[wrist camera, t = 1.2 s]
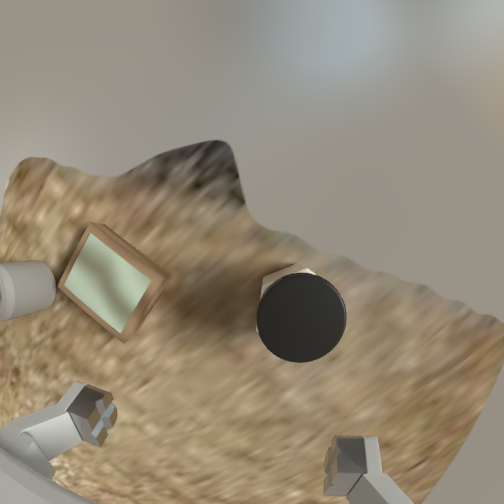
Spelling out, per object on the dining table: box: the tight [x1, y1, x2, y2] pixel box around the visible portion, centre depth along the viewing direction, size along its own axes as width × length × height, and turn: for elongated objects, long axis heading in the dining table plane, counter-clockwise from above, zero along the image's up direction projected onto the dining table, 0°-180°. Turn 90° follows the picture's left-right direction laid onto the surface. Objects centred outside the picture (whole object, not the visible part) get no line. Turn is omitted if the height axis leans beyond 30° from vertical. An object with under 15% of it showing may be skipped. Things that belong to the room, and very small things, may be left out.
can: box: [0, 261, 56, 321], centre depth 35 cm, size 8×8×12 cm
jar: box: [256, 264, 347, 363], centre depth 34 cm, size 9×8×12 cm
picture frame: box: [57, 222, 172, 343], centre depth 38 cm, size 10×12×4 cm
